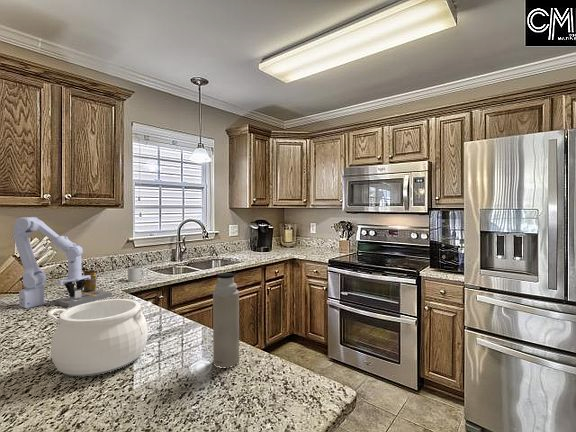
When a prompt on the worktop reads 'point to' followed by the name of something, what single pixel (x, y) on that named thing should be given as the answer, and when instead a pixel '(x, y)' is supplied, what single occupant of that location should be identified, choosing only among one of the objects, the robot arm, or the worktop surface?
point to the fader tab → (77, 293)
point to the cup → (135, 274)
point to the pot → (98, 336)
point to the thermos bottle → (225, 321)
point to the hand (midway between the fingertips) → (75, 295)
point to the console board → (83, 298)
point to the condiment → (90, 281)
